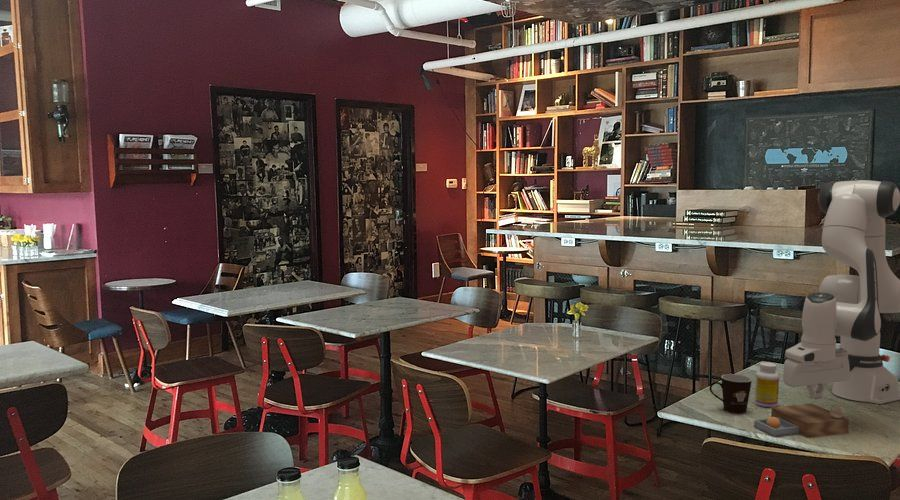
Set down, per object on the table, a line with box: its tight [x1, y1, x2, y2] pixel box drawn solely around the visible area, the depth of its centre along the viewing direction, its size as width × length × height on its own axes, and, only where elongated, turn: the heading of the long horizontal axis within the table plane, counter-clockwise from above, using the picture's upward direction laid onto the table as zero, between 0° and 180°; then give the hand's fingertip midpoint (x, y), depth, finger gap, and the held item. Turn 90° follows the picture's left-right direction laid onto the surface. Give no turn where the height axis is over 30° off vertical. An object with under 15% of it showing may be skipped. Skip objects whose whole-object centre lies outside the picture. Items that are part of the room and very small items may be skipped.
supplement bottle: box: [754, 361, 780, 408], centre depth 227 cm, size 7×7×13 cm
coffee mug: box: [709, 373, 753, 415], centre depth 222 cm, size 12×9×10 cm
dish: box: [753, 417, 800, 438], centre depth 204 cm, size 8×8×2 cm
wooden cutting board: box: [770, 403, 850, 439], centre depth 207 cm, size 14×14×4 cm
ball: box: [766, 416, 781, 429], centre depth 204 cm, size 4×4×4 cm
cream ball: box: [828, 404, 845, 418], centre depth 203 cm, size 4×4×4 cm
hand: (815, 398), depth 208 cm, fingers closed
